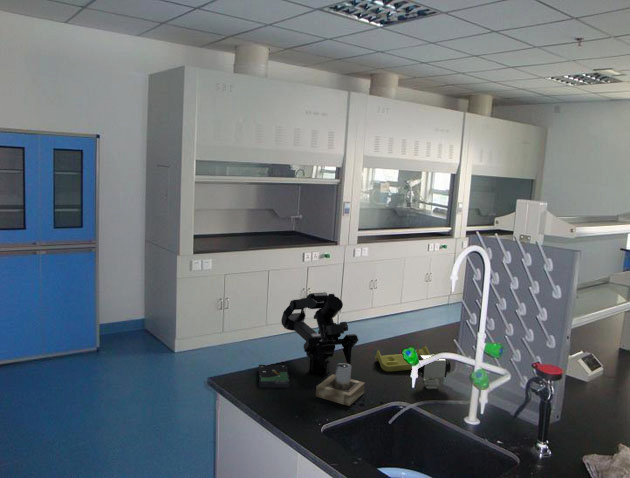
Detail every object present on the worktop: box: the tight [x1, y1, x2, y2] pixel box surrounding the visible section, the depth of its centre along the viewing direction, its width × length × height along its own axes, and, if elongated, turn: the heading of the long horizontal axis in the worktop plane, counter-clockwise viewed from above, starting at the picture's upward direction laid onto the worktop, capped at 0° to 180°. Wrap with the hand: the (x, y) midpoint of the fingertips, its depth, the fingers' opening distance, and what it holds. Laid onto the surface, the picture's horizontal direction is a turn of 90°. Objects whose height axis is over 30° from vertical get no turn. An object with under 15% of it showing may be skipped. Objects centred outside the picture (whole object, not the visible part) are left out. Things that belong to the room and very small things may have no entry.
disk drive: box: [258, 364, 291, 388], centre depth 179 cm, size 10×3×15 cm
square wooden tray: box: [315, 373, 366, 407], centre depth 169 cm, size 12×12×4 cm
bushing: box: [335, 362, 352, 391], centre depth 169 cm, size 5×5×10 cm
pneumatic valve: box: [417, 353, 452, 390], centre depth 179 cm, size 6×12×12 cm, turn 99°
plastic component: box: [374, 346, 431, 372], centre depth 197 cm, size 20×7×10 cm
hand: (337, 366), depth 172 cm, fingers open, 9 cm apart
